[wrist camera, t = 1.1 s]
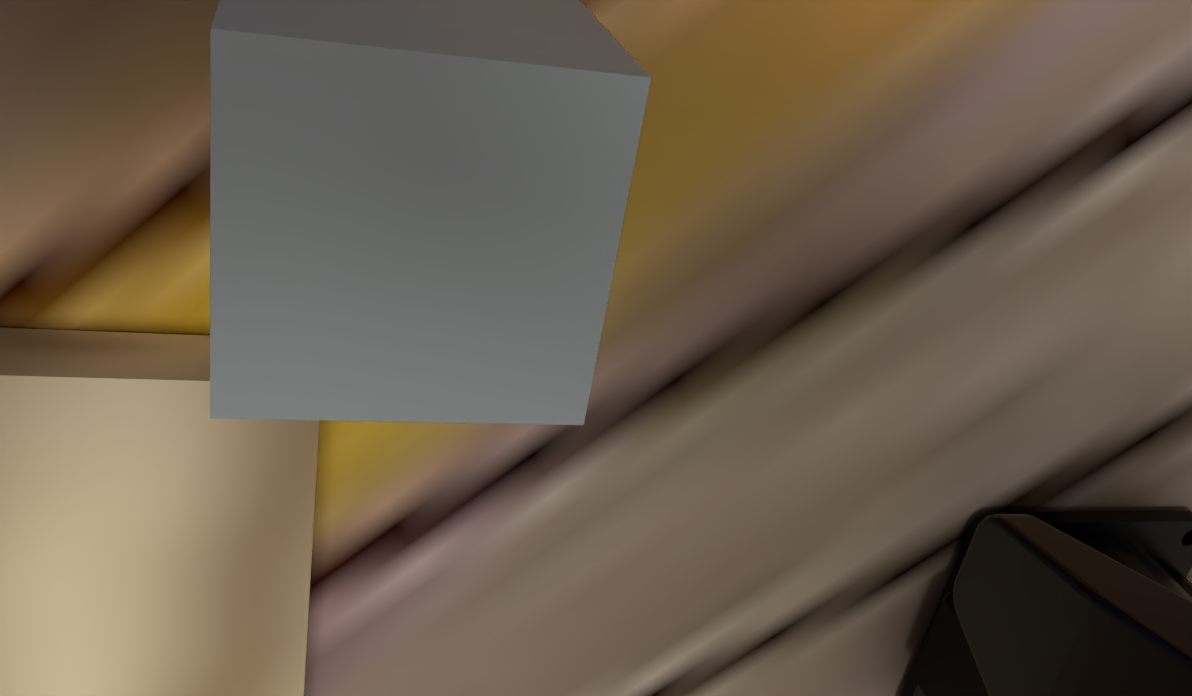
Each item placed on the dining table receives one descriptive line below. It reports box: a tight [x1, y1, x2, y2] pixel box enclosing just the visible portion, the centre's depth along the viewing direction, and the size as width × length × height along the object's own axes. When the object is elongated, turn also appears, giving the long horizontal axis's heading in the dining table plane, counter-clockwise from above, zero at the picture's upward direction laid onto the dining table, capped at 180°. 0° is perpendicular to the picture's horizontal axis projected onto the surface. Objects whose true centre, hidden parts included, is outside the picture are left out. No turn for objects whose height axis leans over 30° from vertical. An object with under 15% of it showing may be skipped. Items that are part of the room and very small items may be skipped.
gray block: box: [210, 0, 651, 425], centre depth 16 cm, size 5×5×5 cm
